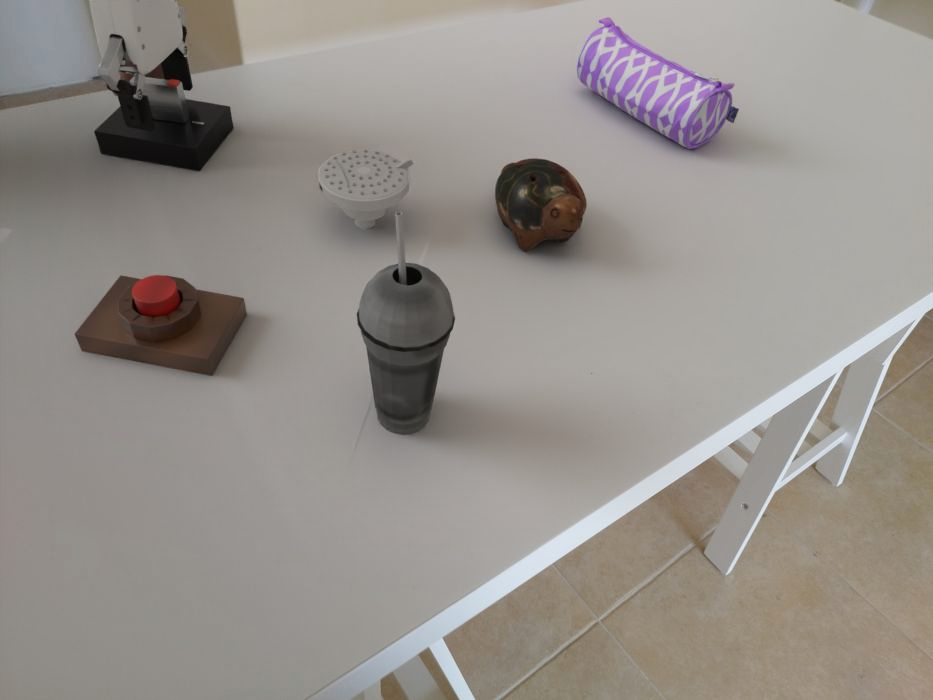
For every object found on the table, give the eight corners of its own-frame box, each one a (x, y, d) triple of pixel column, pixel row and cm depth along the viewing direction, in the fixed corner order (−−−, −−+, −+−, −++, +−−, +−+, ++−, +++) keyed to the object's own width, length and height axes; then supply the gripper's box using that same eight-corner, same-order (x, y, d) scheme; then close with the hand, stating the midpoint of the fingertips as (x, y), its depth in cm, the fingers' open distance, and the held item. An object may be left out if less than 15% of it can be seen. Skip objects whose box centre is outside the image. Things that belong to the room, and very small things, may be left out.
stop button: (129, 313, 63) (123, 298, 62) (148, 286, 66) (144, 271, 65) (168, 321, 63) (164, 306, 62) (187, 293, 66) (183, 278, 64)
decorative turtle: (534, 282, 76) (539, 217, 70) (467, 209, 86) (467, 146, 80) (611, 256, 79) (623, 192, 74) (538, 189, 89) (543, 127, 83)
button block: (81, 351, 65) (67, 318, 62) (126, 292, 70) (115, 259, 67) (212, 376, 64) (204, 344, 61) (247, 314, 69) (241, 283, 67)
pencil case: (728, 142, 99) (753, 75, 93) (687, 163, 95) (711, 94, 88) (605, 76, 110) (620, 12, 103) (563, 92, 105) (575, 26, 98)
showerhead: (427, 184, 74) (329, 198, 71) (424, 241, 79) (332, 256, 76) (399, 135, 80) (308, 146, 77) (398, 192, 85) (312, 204, 82)
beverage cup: (390, 462, 59) (392, 272, 45) (344, 403, 63) (332, 210, 49) (462, 423, 63) (486, 234, 48) (415, 369, 66) (423, 179, 52)
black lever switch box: (101, 154, 86) (93, 129, 83) (142, 112, 92) (136, 89, 90) (199, 171, 85) (194, 147, 82) (233, 128, 92) (230, 104, 89)
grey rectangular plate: (138, 117, 86) (128, 78, 83) (143, 111, 87) (134, 73, 84) (184, 123, 86) (176, 85, 82) (189, 117, 87) (181, 79, 83)
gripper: (130, -84, 79) (164, 69, 92) (38, -28, 67) (91, 139, 80) (197, -73, 79) (222, 79, 91) (116, -16, 67) (157, 151, 79)
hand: (161, 107), depth 85 cm, fingers open, 9 cm apart
